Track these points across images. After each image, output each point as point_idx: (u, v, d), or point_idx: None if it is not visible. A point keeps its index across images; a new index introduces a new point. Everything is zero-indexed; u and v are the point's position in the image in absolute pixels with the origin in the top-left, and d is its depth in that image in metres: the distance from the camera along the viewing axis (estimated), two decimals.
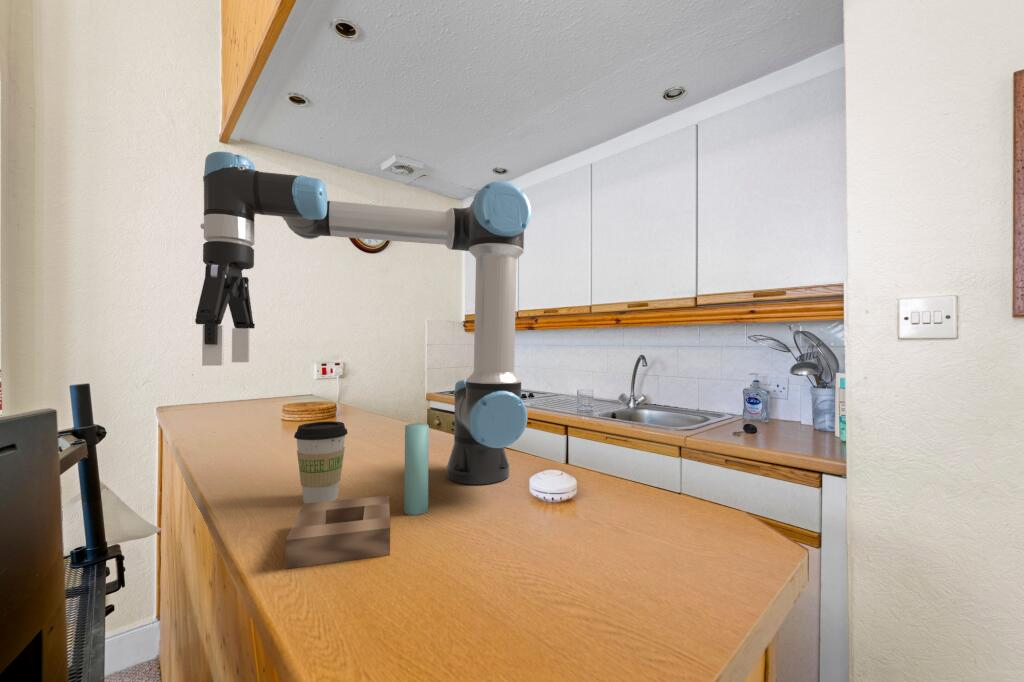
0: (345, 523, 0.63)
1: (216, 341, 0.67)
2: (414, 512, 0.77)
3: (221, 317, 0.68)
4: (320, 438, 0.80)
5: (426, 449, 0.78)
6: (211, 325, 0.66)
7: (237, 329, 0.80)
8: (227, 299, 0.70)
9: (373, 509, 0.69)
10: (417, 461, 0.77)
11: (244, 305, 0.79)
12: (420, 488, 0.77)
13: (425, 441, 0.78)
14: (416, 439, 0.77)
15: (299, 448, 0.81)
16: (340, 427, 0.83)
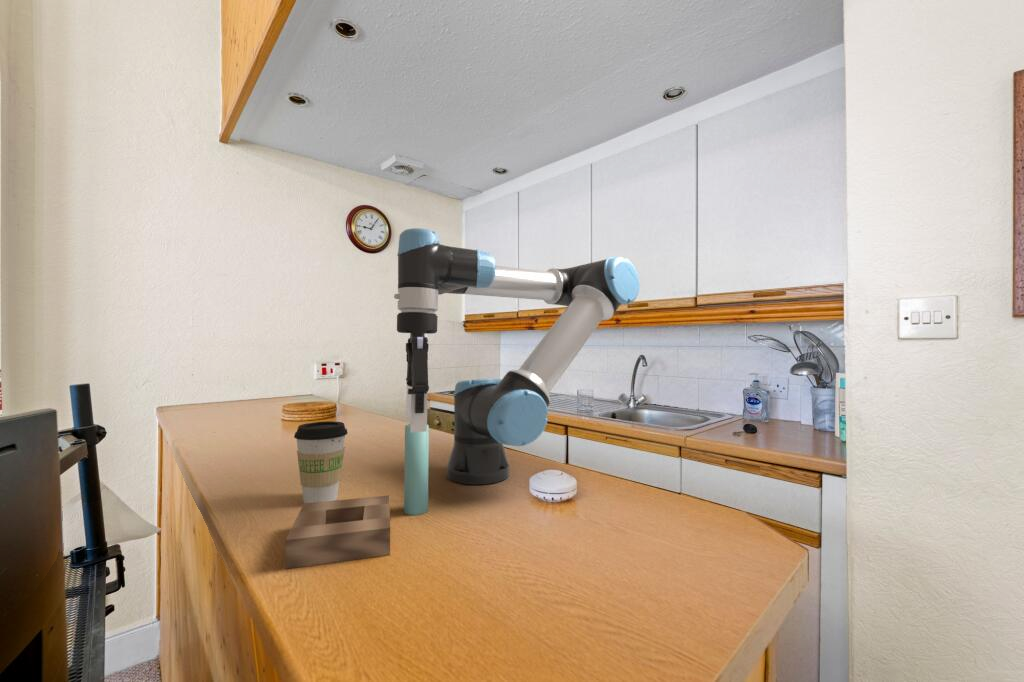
0: (345, 523, 0.63)
1: (423, 409, 0.72)
2: (414, 512, 0.77)
3: None
4: (320, 438, 0.80)
5: (426, 449, 0.78)
6: (421, 395, 0.71)
7: (411, 387, 0.85)
8: None
9: (373, 509, 0.69)
10: (417, 461, 0.77)
11: None
12: (420, 488, 0.77)
13: (425, 441, 0.78)
14: (416, 439, 0.77)
15: (299, 448, 0.81)
16: (340, 427, 0.83)
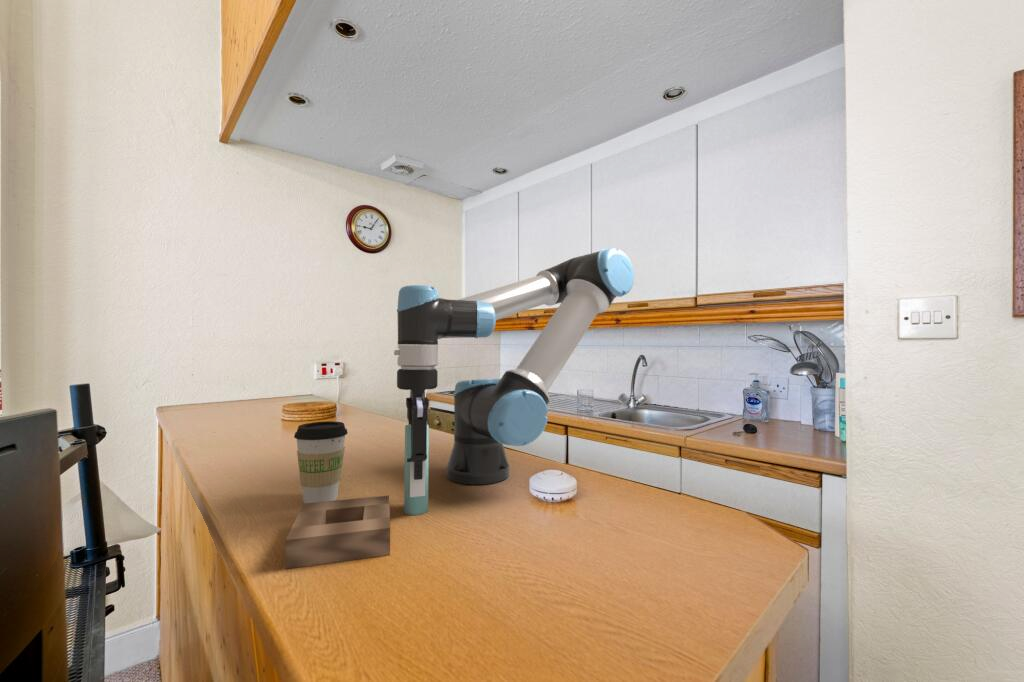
0: (345, 523, 0.63)
1: (422, 475, 0.76)
2: (414, 512, 0.77)
3: None
4: (320, 438, 0.80)
5: None
6: (420, 463, 0.75)
7: None
8: None
9: (373, 509, 0.69)
10: None
11: None
12: None
13: None
14: None
15: (299, 448, 0.81)
16: (340, 427, 0.83)
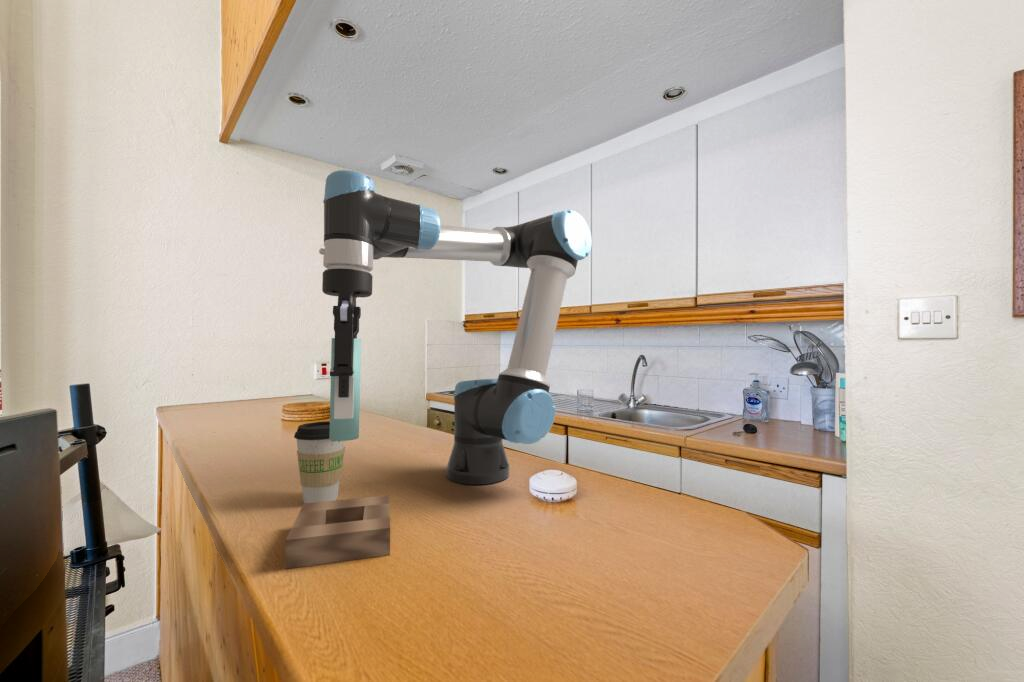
0: (345, 523, 0.63)
1: (348, 393, 0.64)
2: (339, 437, 0.65)
3: (352, 366, 0.65)
4: (320, 438, 0.80)
5: (356, 365, 0.66)
6: (345, 377, 0.63)
7: None
8: (353, 340, 0.65)
9: (373, 509, 0.69)
10: None
11: None
12: None
13: (354, 355, 0.66)
14: None
15: (299, 448, 0.81)
16: None
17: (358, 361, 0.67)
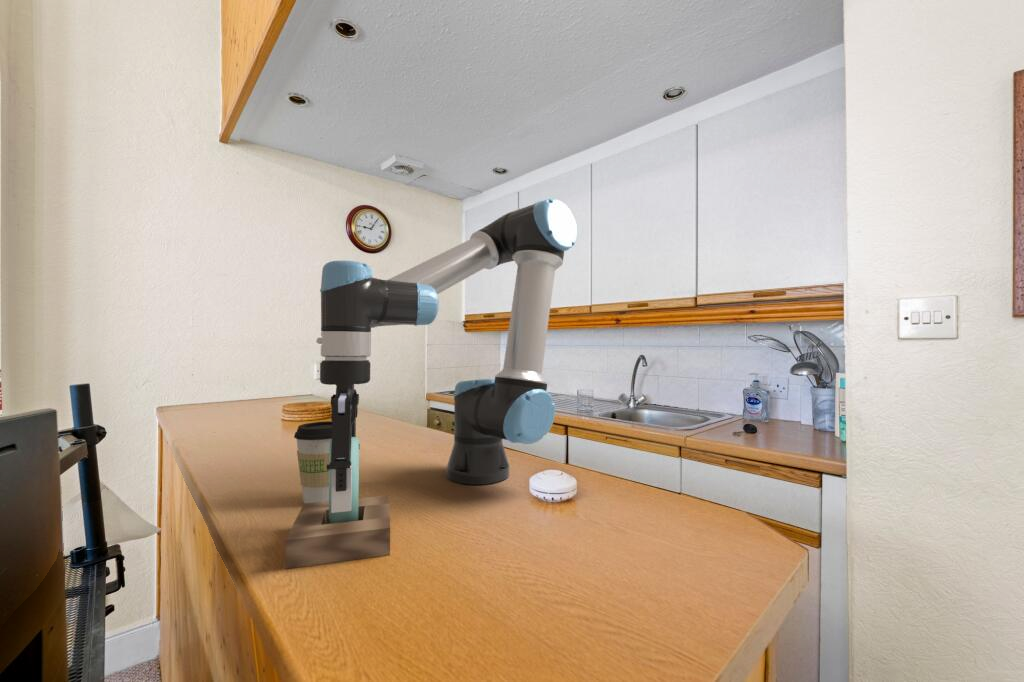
0: (345, 523, 0.63)
1: (346, 486, 0.62)
2: None
3: (350, 458, 0.62)
4: (320, 438, 0.80)
5: (354, 468, 0.66)
6: (342, 470, 0.61)
7: None
8: (351, 430, 0.64)
9: (373, 509, 0.69)
10: None
11: (354, 423, 0.71)
12: (346, 514, 0.65)
13: (353, 458, 0.66)
14: None
15: (299, 448, 0.81)
16: None
17: (356, 463, 0.66)
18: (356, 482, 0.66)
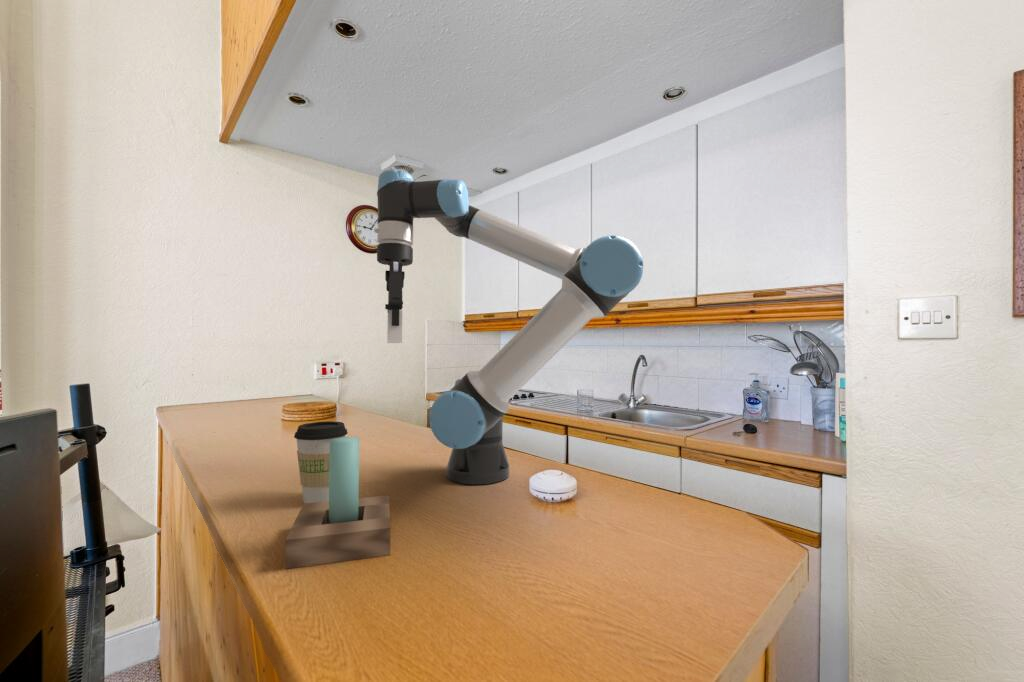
0: (345, 523, 0.63)
1: (399, 323, 0.83)
2: None
3: None
4: (320, 438, 0.80)
5: (354, 468, 0.66)
6: (397, 310, 0.83)
7: None
8: None
9: (373, 509, 0.69)
10: (343, 482, 0.65)
11: None
12: (346, 514, 0.65)
13: (353, 458, 0.66)
14: (341, 456, 0.65)
15: (299, 448, 0.81)
16: (340, 427, 0.83)
17: (356, 463, 0.66)
18: (356, 482, 0.66)
